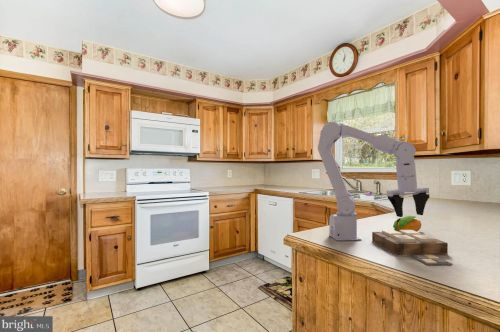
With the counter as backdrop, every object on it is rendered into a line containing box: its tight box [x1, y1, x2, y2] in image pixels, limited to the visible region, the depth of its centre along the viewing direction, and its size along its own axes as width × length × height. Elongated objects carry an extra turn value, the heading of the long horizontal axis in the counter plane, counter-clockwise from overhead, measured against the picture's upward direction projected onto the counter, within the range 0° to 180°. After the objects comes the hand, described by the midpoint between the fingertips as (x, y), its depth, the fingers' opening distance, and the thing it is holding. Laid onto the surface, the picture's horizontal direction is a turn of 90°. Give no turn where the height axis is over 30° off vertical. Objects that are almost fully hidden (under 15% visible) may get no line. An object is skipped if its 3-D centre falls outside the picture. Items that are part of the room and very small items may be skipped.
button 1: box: [381, 229, 402, 237], centre depth 87 cm, size 4×4×2 cm
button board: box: [371, 231, 449, 256], centre depth 84 cm, size 16×14×4 cm
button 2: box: [393, 235, 415, 243], centre depth 80 cm, size 4×4×2 cm
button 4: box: [412, 234, 436, 242], centre depth 81 cm, size 4×4×2 cm
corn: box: [392, 215, 422, 232], centre depth 100 cm, size 7×8×20 cm
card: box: [409, 255, 453, 267], centre depth 72 cm, size 7×7×1 cm
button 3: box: [399, 230, 422, 237], centre depth 87 cm, size 4×4×2 cm
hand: (409, 215), depth 87 cm, fingers open, 7 cm apart
